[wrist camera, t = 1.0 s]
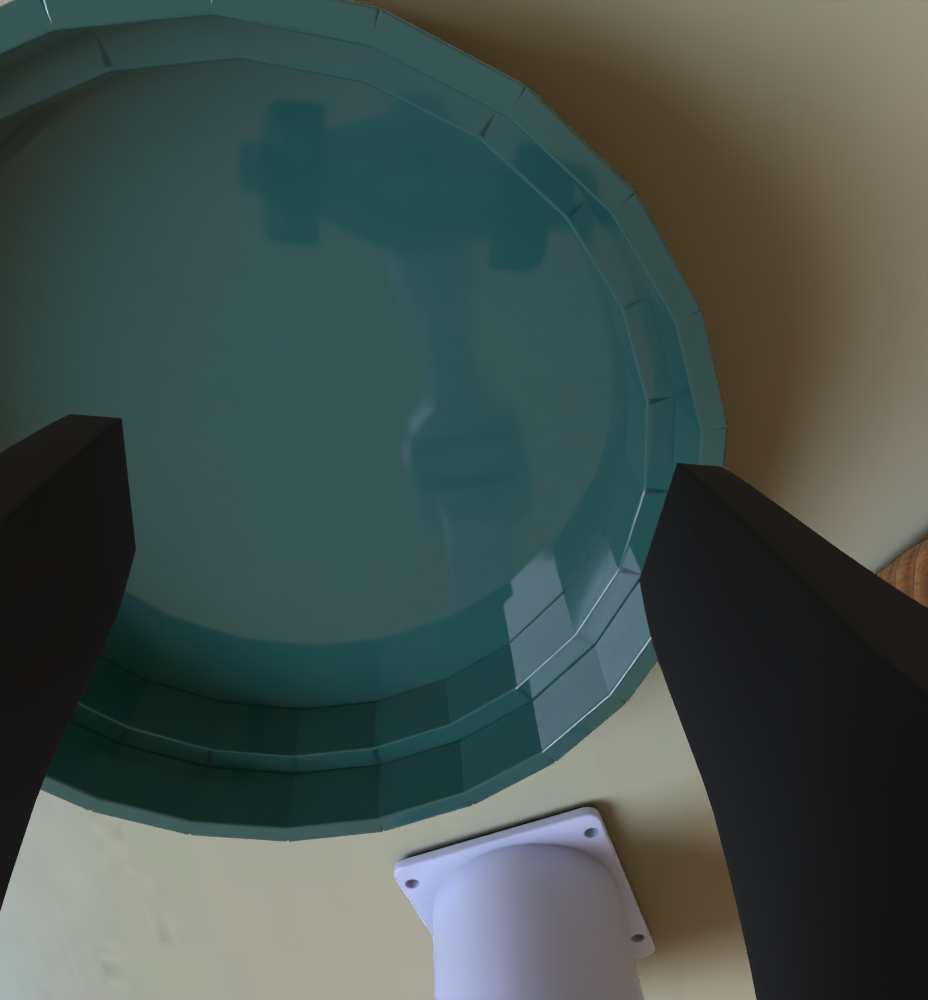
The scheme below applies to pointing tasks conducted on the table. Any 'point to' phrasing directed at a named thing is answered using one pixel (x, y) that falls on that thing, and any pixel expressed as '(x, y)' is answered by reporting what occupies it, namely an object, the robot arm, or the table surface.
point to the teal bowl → (338, 405)
